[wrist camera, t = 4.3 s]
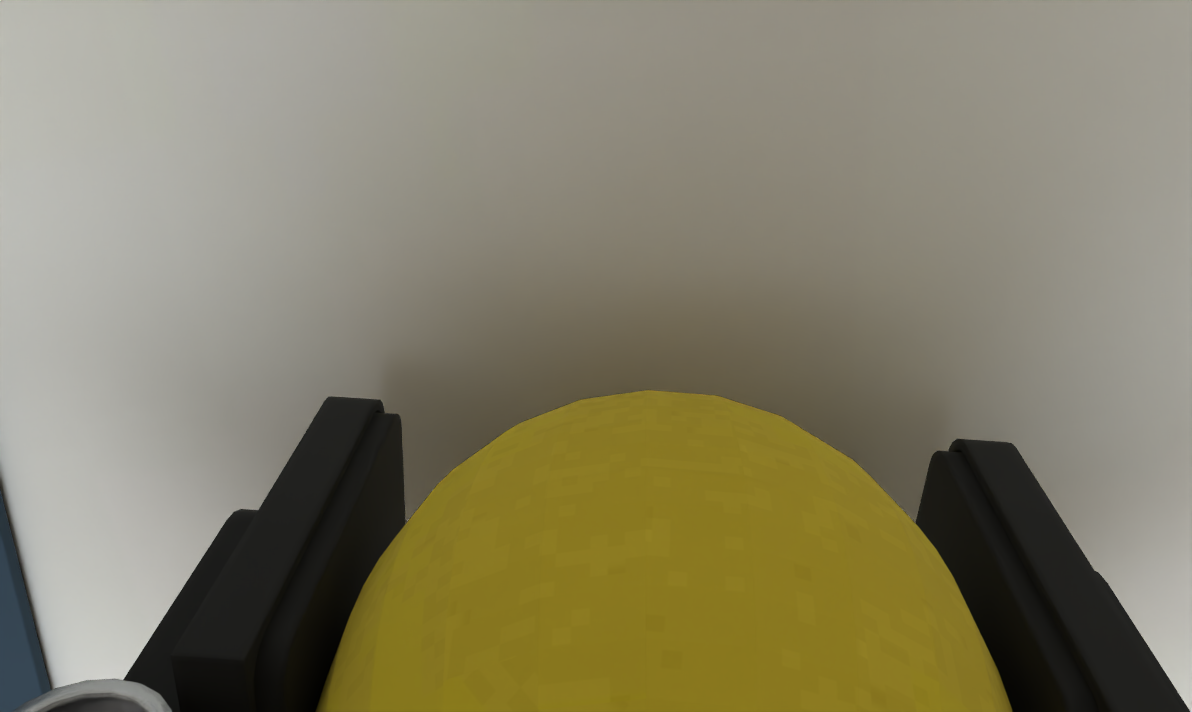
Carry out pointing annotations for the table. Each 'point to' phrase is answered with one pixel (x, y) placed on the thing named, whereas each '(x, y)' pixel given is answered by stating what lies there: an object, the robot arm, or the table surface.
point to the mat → (16, 631)
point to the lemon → (660, 578)
